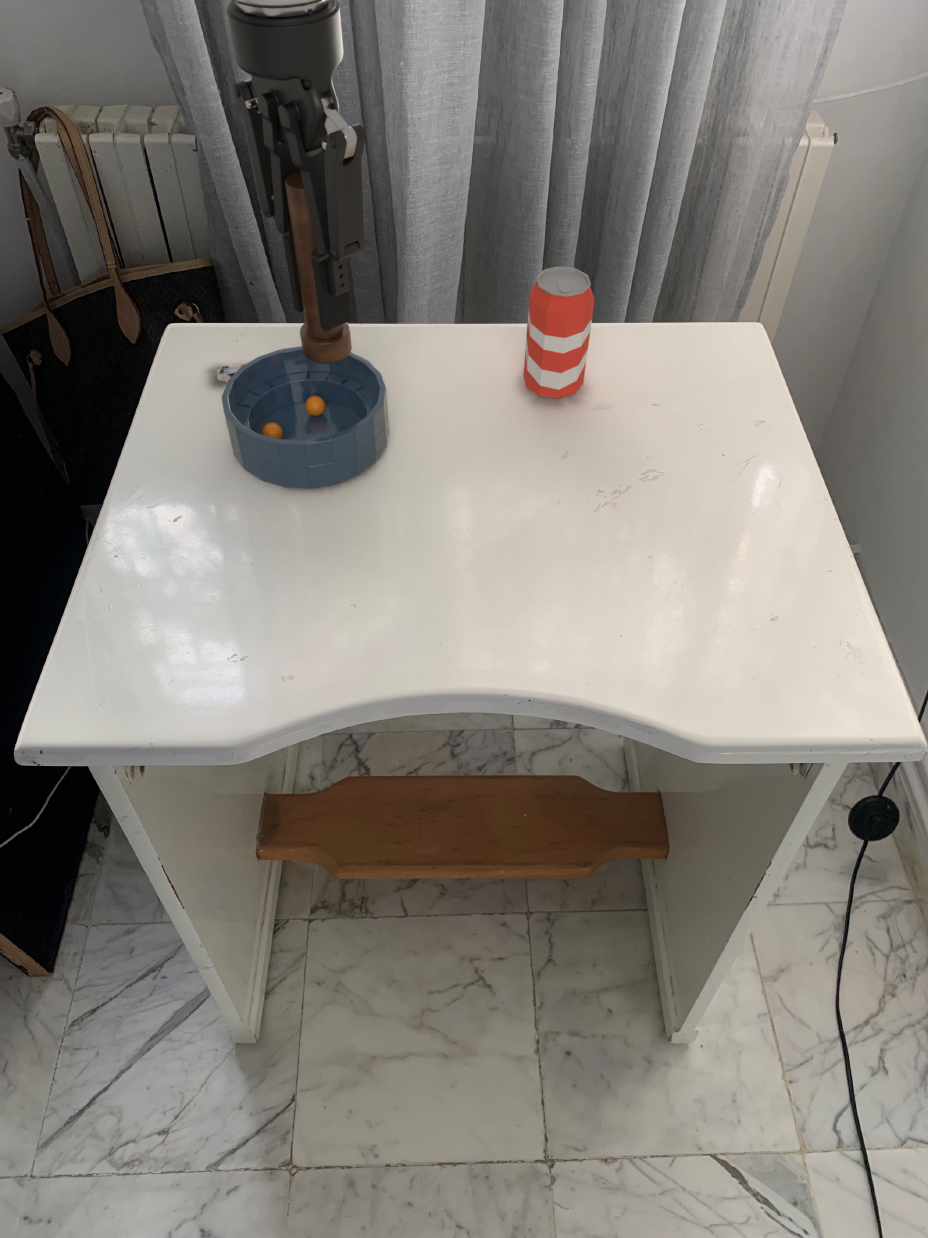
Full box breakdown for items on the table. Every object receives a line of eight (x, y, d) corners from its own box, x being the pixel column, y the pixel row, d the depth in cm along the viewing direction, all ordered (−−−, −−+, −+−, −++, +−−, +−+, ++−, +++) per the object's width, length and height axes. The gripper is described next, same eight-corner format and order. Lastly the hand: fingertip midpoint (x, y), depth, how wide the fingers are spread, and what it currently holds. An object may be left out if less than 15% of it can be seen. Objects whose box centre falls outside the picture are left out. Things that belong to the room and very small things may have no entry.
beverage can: (528, 404, 93) (537, 299, 83) (520, 369, 97) (527, 264, 87) (586, 402, 93) (601, 296, 84) (575, 366, 97) (588, 262, 88)
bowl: (218, 491, 84) (205, 440, 79) (251, 393, 93) (241, 343, 89) (380, 497, 83) (375, 447, 79) (395, 398, 93) (393, 348, 88)
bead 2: (305, 419, 89) (302, 403, 88) (308, 407, 91) (305, 391, 89) (324, 420, 89) (322, 404, 88) (327, 408, 91) (325, 391, 89)
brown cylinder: (299, 362, 79) (271, 191, 67) (307, 334, 82) (282, 165, 70) (348, 364, 79) (329, 193, 67) (354, 336, 81) (338, 167, 70)
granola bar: (279, 365, 97) (278, 357, 96) (281, 377, 96) (280, 369, 95) (217, 372, 96) (215, 364, 95) (218, 385, 95) (216, 376, 94)
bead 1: (261, 447, 86) (258, 430, 85) (265, 434, 88) (262, 417, 86) (282, 448, 86) (279, 431, 85) (285, 435, 88) (282, 418, 86)
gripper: (403, 15, 57) (416, 337, 75) (260, -42, 65) (303, 263, 83) (308, 43, 54) (345, 372, 72) (169, -21, 62) (234, 292, 80)
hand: (322, 313), depth 77 cm, fingers closed on brown cylinder, 3 cm apart
